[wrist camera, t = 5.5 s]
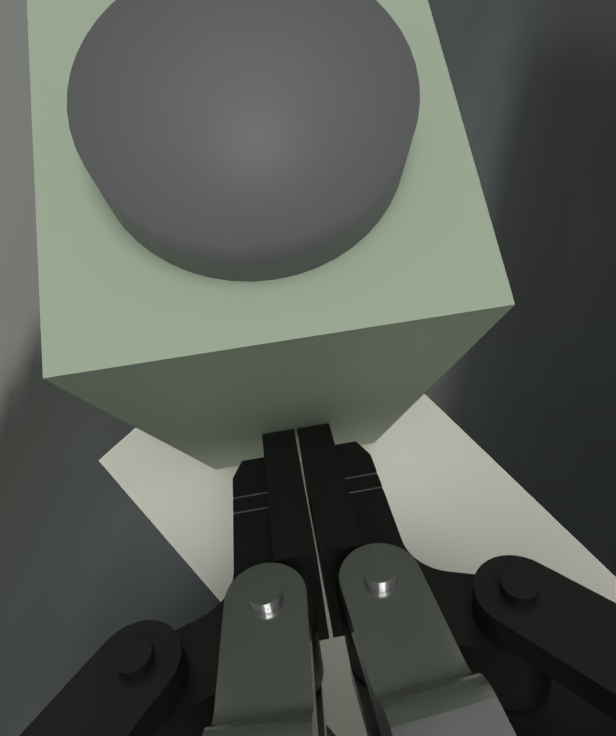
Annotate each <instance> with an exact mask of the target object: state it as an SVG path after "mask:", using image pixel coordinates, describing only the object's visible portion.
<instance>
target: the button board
mask: <svg viewBox="0 0 616 736" xmlns="http://www.w3.org/2000/svg"><path fill="white" fill-rule="evenodd" d="M361 446H362V447H363V448H364V449H365V450H366V451H367V452H368V453H370V454H371V457H372V460H373V462H374V465H375V468H376V471H377V475H378V476H379V479H380V482H381V484H382V489H383V490H384V492H385V495H386V498H387V501H388V503H389V506H390V509H391V512H392V514H393V517H394V520H395V522H396V525H397V528H398V531H399V533H400V536H401V539H402V541H403V544H404V546H405V547H406V549H407V550H408V552H409V553H410V554H411V555H412V556H413V557H415V558H416V559H417V560H418V561H420V562H422V563H423V564H425V565H427V566H429V567H432V568H435V569H438V570H442V571H448V572H458V573H468V574H475V573H476V571H477V570H478V568H479V567H480V566H481V565H482V564H483V563H484V562H486V561H487V560H489V559H492V558H494V557H498V556H503V555H516V556H522V557H526V558H529V559H532V560H534V561H536V562H538V563H540V564H542V565H544V566H546V567H548V568H550V569H552V570H554V571H556V572H558V573H559V574H561V575H563V576H565V577H567V578H569V579H571V580H573V581H575V582H577V583H579V584H580V585H582V586H584V587H586V588H588V589H590V590H592V591H594V592H596V593H598V594H600V595H601V596H603V597H605V598H607V599H609V600H611V601H613V602H615V603H616V577H615V576H614V575H613V574H612V573H611V572H610V571H609V570H608V569H607V568H606V567H605V566H604V565H603V564H602V563H600V562H599V561H598V560H597V559H596V558H595V557H594V556H593V555H592V554H591V553H590V552H589V551H588V550H587V549H586V548H585V547H584V546H583V545H582V544H581V543H580V542H579V541H578V540H576V539H575V538H574V537H573V536H572V535H571V534H570V533H569V532H568V531H567V530H566V529H565V528H564V527H563V526H562V525H561V524H560V523H559V522H558V521H557V520H556V519H555V518H554V517H552V516H551V515H550V514H549V513H548V512H547V511H546V510H545V509H544V508H543V507H542V506H541V505H540V504H539V503H538V502H537V501H536V500H535V499H534V498H533V497H532V496H531V495H530V494H528V493H527V492H526V491H525V490H524V489H523V488H522V487H521V486H520V485H519V484H518V483H517V482H516V481H515V480H514V479H513V478H512V477H511V476H510V475H509V474H508V473H507V472H506V471H505V470H503V469H502V468H501V467H500V466H499V465H498V464H497V463H496V462H495V461H494V460H493V459H492V458H491V457H490V456H489V455H488V454H487V453H486V452H485V451H484V450H483V449H482V448H481V447H479V446H478V445H477V444H476V443H475V442H474V441H473V440H472V439H471V438H470V437H469V436H468V435H467V434H466V433H465V432H464V431H463V430H462V429H461V428H460V427H459V426H458V425H457V424H455V423H454V422H453V421H452V420H451V419H450V418H449V417H448V416H447V415H446V414H445V413H444V412H443V411H442V410H441V409H440V408H439V407H438V406H437V405H436V404H435V403H434V402H433V401H431V400H430V399H429V398H428V397H427V396H426V395H425V394H424V395H423V396H422V397H420V398H419V399H418V400H417V401H416V402H415V403H414V404H413V405H412V406H411V407H410V408H409V409H408V410H407V411H406V412H405V413H404V414H403V415H402V416H401V417H400V418H399V419H398V420H397V421H396V422H395V423H394V424H393V425H392V426H391V427H390V428H389V429H388V430H387V431H386V432H385V433H384V434H383V435H382V436H381V437H380V438H379V439H378V440H377V441H376V442H375V443H370V444H364V445H361ZM299 460H300V465H301V471H302V476H303V482H304V487H305V493H306V498H307V504H308V509H309V515H310V520H311V526H312V531H313V537H314V542H315V548H316V553H317V560H318V566H319V573H320V580H321V586H322V593H323V600H324V606H325V613H326V620H327V626H328V633H329V639H326V640H321V641H319V642H320V648H321V655H322V661H323V669H324V673H323V680H322V684H323V694H324V707H325V719H326V725H327V726H328V727H329V728H330V730H331V731H332V732H333V733H334V734H335V735H336V736H368V735H367V732H366V728H365V725H364V721H363V717H362V714H361V710H360V707H359V703H358V700H357V696H356V692H355V689H354V685H353V682H352V677H351V671H350V663H349V656H348V651H347V646H346V642H345V637H344V636H340V637H335V638H333V633H332V628H331V622H330V617H329V612H328V606H327V601H326V595H325V590H324V584H323V579H322V574H321V568H320V563H319V557H318V552H317V546H316V541H315V536H314V530H313V525H312V519H311V514H310V508H309V503H308V497H307V491H306V485H305V478H304V472H303V465H302V459H301V455H299ZM99 462H100V463H101V464H102V465H103V466H104V467H105V468H106V470H107V471H108V472H109V473H110V474H111V475H112V477H113V478H114V479H115V480H116V481H117V482H118V484H119V485H120V486H121V487H122V488H123V489H124V491H125V492H126V493H127V494H128V495H129V496H130V497H131V499H132V500H133V501H134V502H135V503H136V504H137V506H138V507H139V508H140V509H141V510H142V511H143V513H144V514H145V515H146V516H147V517H148V518H149V520H150V521H151V522H152V523H153V524H154V525H155V526H156V528H157V529H158V530H159V531H160V532H161V533H162V535H163V536H164V537H165V538H166V539H167V540H168V542H169V543H170V544H171V545H172V546H173V547H174V549H175V550H176V551H177V552H178V553H179V554H180V555H181V557H182V558H183V559H184V560H185V561H186V562H187V564H188V565H189V566H190V567H191V568H192V569H193V571H194V572H195V573H196V574H197V575H198V576H199V578H200V579H201V580H202V581H203V582H204V583H205V584H206V586H207V587H208V588H209V589H210V590H211V591H212V593H213V594H214V595H215V596H216V597H217V598H218V600H219V601H220V602H221V601H222V600H223V599H224V598H225V595H226V592H227V590H228V588H229V586H230V584H231V583H232V581H233V575H234V552H233V516H234V515H233V477H234V475H235V473H236V471H237V469H238V467H239V466H240V465H239V466H234V467H228V468H222V469H216V470H215V469H213V468H211V467H209V466H208V465H206V464H204V463H202V462H200V461H198V460H196V459H194V458H192V457H191V456H189V455H187V454H185V453H183V452H181V451H179V450H177V449H175V448H174V447H172V446H170V445H168V444H166V443H164V442H162V441H160V440H158V439H157V438H155V437H153V436H151V435H149V434H147V433H145V432H143V431H141V430H140V429H138V428H135V429H134V430H132V431H131V432H130V433H129V434H128V435H127V436H126V437H125V438H123V439H122V440H121V441H120V442H119V443H118V444H117V445H116V446H114V447H113V448H112V449H111V450H110V451H109V452H108V453H106V454H105V455H104V456H103V457H102V458H101V459H100V460H99Z"/></svg>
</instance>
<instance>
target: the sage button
mask: <svg viewBox="0 0 616 736" xmlns="http://www.w3.org/2000/svg"><path fill="white" fill-rule="evenodd" d="M27 14H28V37H29V60H30V83H31V108H32V132H33V155H34V179H35V202H36V226H37V250H38V273H39V297H40V320H41V344H42V367H43V379H45V380H47V381H49V382H51V383H53V384H55V385H57V386H58V387H60V388H62V389H64V390H66V391H68V392H70V393H72V394H74V395H75V396H77V397H79V398H81V399H83V400H85V401H87V402H89V403H90V404H92V405H94V406H96V407H98V408H100V409H102V410H104V411H106V412H107V413H109V414H111V415H113V416H115V417H117V418H119V419H121V420H123V421H124V422H126V423H128V424H130V425H132V426H134V427H136V428H138V429H140V430H141V431H143V432H145V433H147V434H149V435H151V436H153V437H155V438H157V439H158V440H160V441H162V442H164V443H166V444H168V445H170V446H172V447H174V448H175V449H177V450H179V451H181V452H183V453H185V454H187V455H189V456H191V457H192V458H194V459H196V460H198V461H200V462H202V463H204V464H206V465H208V466H209V467H211V468H213V469H215V470H216V469H222V468H228V467H234V466H239V465H240V464H241V462H242V461H245V460H250V459H256V458H262V457H264V450H263V440H262V434H267V433H273V432H279V431H285V430H291V429H294V432H295V438H296V443H297V449H298V454H299V455H301V452H300V445H299V439H298V432H297V428H303V427H309V426H315V425H321V424H327V423H329V425H330V428H331V432H332V435H333V439H334V443H335V445H337V444H343V443H349V442H355V441H356V442H357V443H358V444H359V445H364V444H370V443H375V442H376V441H377V440H378V439H379V438H380V437H381V436H382V435H383V434H384V433H385V432H386V431H387V430H388V429H389V428H390V427H391V426H392V425H393V424H394V423H395V422H396V421H397V420H398V419H399V418H400V417H401V416H402V415H403V414H404V413H405V412H406V411H407V410H408V409H409V408H410V407H411V406H412V405H413V404H414V403H415V402H416V401H417V400H418V399H419V398H420V397H422V396H423V395H424V394H425V393H426V392H427V391H428V390H429V389H430V388H431V387H432V386H433V385H434V384H435V383H436V382H437V381H438V380H439V379H440V378H441V377H442V376H443V375H444V374H445V373H446V372H447V371H448V370H449V369H450V368H451V367H452V366H453V365H454V364H455V363H456V362H457V361H458V360H459V359H460V358H461V357H462V356H463V355H464V354H465V353H466V352H467V351H468V350H469V349H470V348H471V347H472V346H473V345H474V344H475V343H476V342H477V341H478V340H479V339H480V338H481V337H482V336H483V335H484V334H485V333H487V332H488V331H489V330H490V329H491V328H492V327H493V326H494V325H495V324H496V323H497V322H498V321H499V320H500V319H501V318H502V317H503V316H504V315H505V314H506V313H507V312H508V311H509V310H510V309H511V308H512V307H513V306H514V305H515V303H514V299H513V296H512V292H511V289H510V285H509V282H508V279H507V275H506V272H505V268H504V265H503V261H502V258H501V254H500V251H499V247H498V244H497V240H496V237H495V233H494V230H493V226H492V223H491V219H490V216H489V212H488V209H487V205H486V202H485V198H484V195H483V191H482V188H481V184H480V181H479V177H478V174H477V171H476V167H475V164H474V160H473V157H472V153H471V150H470V146H469V143H468V139H467V136H466V132H465V129H464V125H463V122H462V118H461V115H460V111H459V108H458V104H457V101H456V97H455V94H454V90H453V87H452V83H451V80H450V76H449V73H448V69H447V66H446V62H445V59H444V56H443V52H442V49H441V45H440V42H439V38H438V35H437V31H436V28H435V24H434V21H433V17H432V14H431V10H430V7H429V3H428V0H27Z"/></svg>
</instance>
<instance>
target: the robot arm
mask: <svg viewBox="0 0 616 736" xmlns="http://www.w3.org/2000/svg"><path fill="white" fill-rule="evenodd" d="M297 432H298V439H299V445H300V452H301V459H302V465H303V472H304V478H305V485H306V491H307V497H308V503H309V508H310V514H311V519H312V525H313V530H314V536H315V541H316V546H317V552H318V557H319V563H320V568H321V574H322V579H323V584H324V590H325V595H326V601H327V606H328V612H329V617H330V622H331V628H332V633H333V638H335V637H340V636H344V637H345V642H346V646H347V651H348V656H349V663H350V671H351V677H352V682H353V685H354V689H355V692H356V696H357V700H358V703H359V707H360V710H361V714H362V717H363V721H364V725H365V728H366V732H367V735H368V736H616V603H615V602H613V601H611V600H609V599H607V598H605V597H603V596H601V595H600V594H598V593H596V592H594V591H592V590H590V589H588V588H586V587H584V586H582V585H580V584H579V583H577V582H575V581H573V580H571V579H569V578H567V577H565V576H563V575H561V574H559V573H558V572H556V571H554V570H552V569H550V568H548V567H546V566H544V565H542V564H540V563H538V562H536V561H534V560H532V559H529V558H526V557H522V556H516V555H503V556H498V557H494V558H492V559H489V560H487V561H486V562H484V563H483V564H482V565H481V566H480V567H479V568H478V570H477V571H476V573H475V574H468V573H458V572H448V571H442V570H438V569H435V568H432V567H429V566H427V565H425V564H423V563H422V562H420V561H418V560H417V559H416V558H415V557H413V556H412V555H411V554H410V553H409V552H408V550H407V549H406V547H405V546H404V544H403V541H402V539H401V536H400V533H399V531H398V528H397V525H396V522H395V520H394V517H393V514H392V512H391V509H390V506H389V503H388V501H387V498H386V495H385V492H384V490H383V489H382V484H381V482H380V479H379V476H378V475H377V471H376V468H375V465H374V462H373V460H372V457H371V454H370V453H368V452H367V451H366V450H365V449H364V448H363V447H362V446H361V445H359V444H358V443H357V442H356V441H355V442H349V443H343V444H337V445H335V443H334V439H333V435H332V432H331V428H330V425H329V423H327V424H321V425H315V426H309V427H303V428H297ZM262 440H263V450H264V457H262V458H256V459H250V460H245V461H242V462H241V464H240V466H239V467H238V469H237V471H236V473H235V475H234V477H233V515H234V516H233V552H234V575H233V581H232V583H231V584H230V586H229V588H228V590H227V592H226V595H225V598H224V599H223V600H222V601H221V603H220V604H219V605H218V606H217V607H216V608H214V609H213V610H212V611H211V612H209V613H208V614H206V615H205V616H203V617H201V618H200V619H198V620H196V621H194V622H192V623H190V624H188V625H186V626H184V627H182V628H180V629H178V630H176V631H175V630H174V629H173V628H172V627H170V626H169V625H168V624H166V623H163V622H160V621H155V620H146V621H140V622H137V623H133V624H131V625H129V626H126V627H124V628H123V629H121V630H119V631H118V632H117V633H115V634H114V635H113V636H111V637H110V638H109V639H108V640H107V641H106V642H105V643H104V644H103V645H102V647H101V648H100V649H99V650H98V651H97V652H96V653H95V654H94V655H93V656H92V657H91V658H90V660H89V661H88V662H87V663H86V664H85V665H84V666H83V667H82V668H81V669H80V670H79V672H78V673H77V674H76V675H75V676H74V677H73V678H72V679H71V680H70V681H69V682H68V684H67V685H66V686H65V687H64V688H63V689H62V690H61V691H60V692H59V693H58V694H57V696H56V697H55V698H54V699H53V700H52V701H51V702H50V703H49V704H48V705H47V706H46V708H45V709H44V710H43V711H42V712H41V713H40V714H39V715H38V716H37V717H36V718H35V720H34V721H33V722H32V723H31V724H30V725H29V726H28V727H27V728H26V729H25V730H24V731H23V733H22V734H21V735H20V736H327V732H326V719H325V707H324V694H323V684H322V680H323V673H324V669H323V661H322V655H321V648H320V642H319V641H321V640H326V639H329V633H328V626H327V620H326V613H325V606H324V600H323V593H322V586H321V580H320V573H319V566H318V560H317V553H316V548H315V542H314V537H313V531H312V526H311V520H310V515H309V509H308V504H307V498H306V493H305V487H304V482H303V476H302V471H301V465H300V460H299V454H298V449H297V443H296V438H295V432H294V429H291V430H285V431H279V432H273V433H267V434H262Z"/></svg>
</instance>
